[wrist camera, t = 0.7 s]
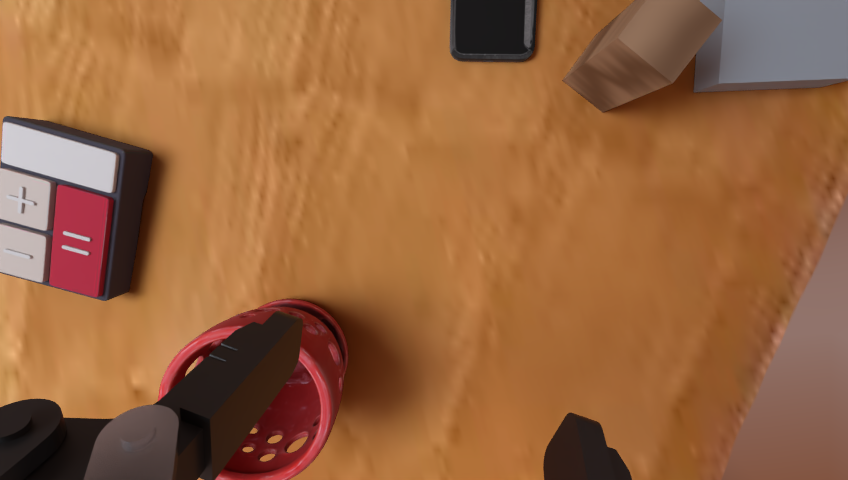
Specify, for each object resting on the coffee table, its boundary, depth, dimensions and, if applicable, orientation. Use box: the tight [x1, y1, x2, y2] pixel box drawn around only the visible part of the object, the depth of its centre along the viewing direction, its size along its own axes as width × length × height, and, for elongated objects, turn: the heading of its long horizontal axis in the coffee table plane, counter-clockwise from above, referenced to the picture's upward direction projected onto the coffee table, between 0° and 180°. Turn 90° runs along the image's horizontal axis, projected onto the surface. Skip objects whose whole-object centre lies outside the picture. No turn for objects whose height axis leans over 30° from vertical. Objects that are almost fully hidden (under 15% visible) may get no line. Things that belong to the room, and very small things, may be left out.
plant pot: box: [158, 299, 348, 480], centre depth 33 cm, size 13×13×12 cm
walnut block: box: [562, 0, 722, 112], centre depth 30 cm, size 5×5×10 cm
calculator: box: [0, 116, 153, 301], centre depth 35 cm, size 11×4×15 cm
